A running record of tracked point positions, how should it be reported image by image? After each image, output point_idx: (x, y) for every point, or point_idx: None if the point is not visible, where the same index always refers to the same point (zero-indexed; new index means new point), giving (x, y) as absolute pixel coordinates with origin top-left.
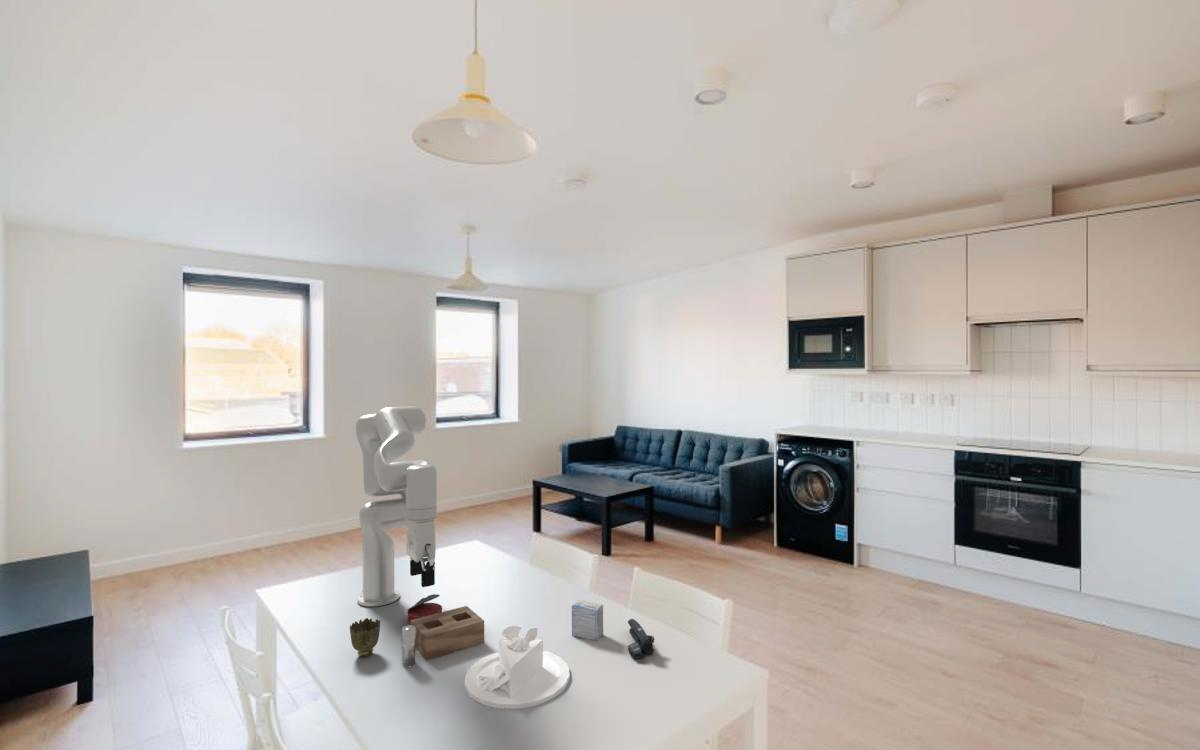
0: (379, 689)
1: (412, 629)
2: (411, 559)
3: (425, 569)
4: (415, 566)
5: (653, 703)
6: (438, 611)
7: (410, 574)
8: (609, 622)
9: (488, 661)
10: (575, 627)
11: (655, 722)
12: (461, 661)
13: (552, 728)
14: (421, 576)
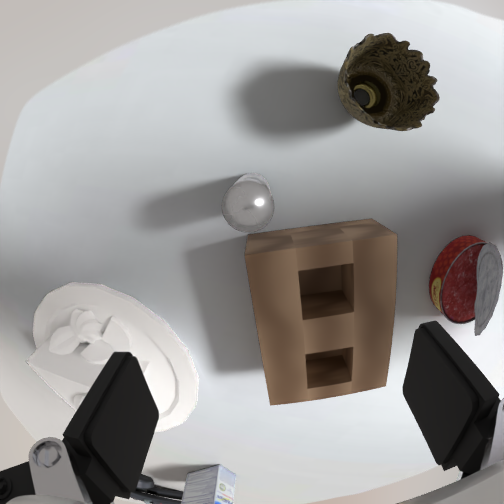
0: (157, 109)
1: (228, 218)
2: (497, 408)
3: (36, 456)
4: (437, 395)
5: (45, 430)
6: (448, 313)
7: (431, 323)
8: (238, 494)
9: (164, 352)
10: (212, 477)
11: (20, 412)
12: (204, 308)
13: (6, 342)
14: (92, 401)
